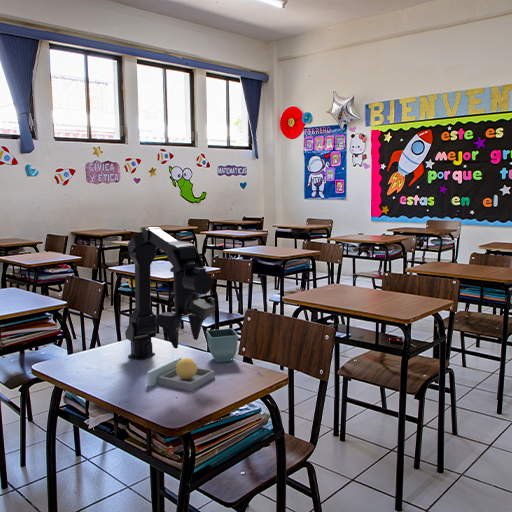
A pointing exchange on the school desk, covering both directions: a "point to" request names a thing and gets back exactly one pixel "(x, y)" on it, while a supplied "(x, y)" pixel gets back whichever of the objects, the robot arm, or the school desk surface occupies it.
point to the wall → (161, 371)
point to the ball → (186, 368)
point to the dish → (189, 384)
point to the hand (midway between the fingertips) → (186, 343)
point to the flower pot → (222, 344)
